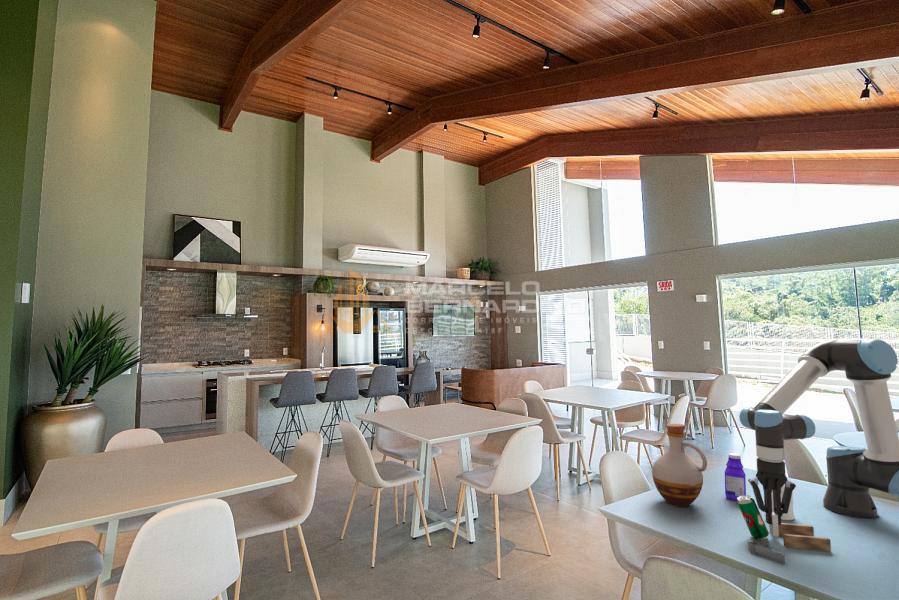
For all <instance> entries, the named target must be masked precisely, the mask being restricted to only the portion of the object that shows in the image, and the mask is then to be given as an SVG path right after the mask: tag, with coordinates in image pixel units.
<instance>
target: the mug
mask: <svg viewBox="0 0 899 600" xmlns="http://www.w3.org/2000/svg"><path fill="white" fill-rule="evenodd" d="M784 488H785V484H784V485H783V487H782V488H781V501H782V497H783V492H784ZM793 495H794V494H793V493H792V496H791V500H790V505H789V509H788V513H787V514H785V513H784V514H783V515H782V516H781V521H793V520H795V513H794V498H793ZM771 496H772V512H774V506H773V490H772V493H771ZM774 513H775V512H774Z"/></svg>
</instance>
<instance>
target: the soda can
mask: <svg viewBox="0 0 899 600" xmlns="http://www.w3.org/2000/svg"><path fill="white" fill-rule="evenodd" d="M736 501H737V502H736V504H737V506H738V508H739V510H740V512H741V513H740V514H741V515H742V518H743V520H744V521H745V525H746V526H747V529H748V531H749V533H750V535H751V537H752V538H754V539H756V540H757V539H759V538H761V537H767V538H768V537H769V535H770V531H769V530H768V527H767V526H766V523H765V521H764V519H763V517H762V514H761V512H760V509H759V508H758V505H757V502H756V500H755V499H754V498H753V497H752V496H751V495H747V494H746V495H745V496H740V497H738V498H737V500H736Z"/></svg>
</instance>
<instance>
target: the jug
mask: <svg viewBox="0 0 899 600" xmlns="http://www.w3.org/2000/svg"><path fill="white" fill-rule="evenodd" d="M665 427H666V429H667V431H666V435H667V437H668V441H669V442H668V443H669V444H668V445H669V448H668V450H666V451H665V452H664V453H663V454H662V455H661V456H659V457H658V458H657V459H656V460H654V463H653V464H652V467H651V475H652V480H653V483H654V486H655V487H656V490H657V492H658V493H659V495H660V496H661V498H663V499H664V501H665V502H666V503H667V504H668V505H670V506H673V507H678V508H688V507H690V506H691V505H692V504H693V503H694V502H695V501H696V500H697V498H699V496H700V493H701V491H702V488H703V485H704V475H703V472H704V471H706V470H707V466H708V460H707V457H706V455H705V453H704V452H703V451H702V450H701V449H700V448H699V447H698V446H697V445H695V444H694V443H691V442H684V437H685V436H686V433H685V431H684V430H685V428H686V425H685V424H683V423H682V424H681V423H667V424H665ZM686 447H688V448H691V449H693V450H695V451H696V452H697V453H698V454H699V456H700V457H701V460H702V465H701V467H700V466H699V464H697V463H696V462H695V461H694V459H692V458H691V457H690V456H689V455H688V454H687V452H685V448H686Z"/></svg>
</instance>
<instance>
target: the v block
mask: <svg viewBox="0 0 899 600" xmlns="http://www.w3.org/2000/svg"><path fill="white" fill-rule="evenodd" d="M747 547H748V549H747V550H748V551H749V552H750V554H753V555H754V554H756V555H759V556H761V557H763V558H767V559H769V560H772V561H774V562H777V563H779V564H782V563H783V564H782V565H784V564H786V555H785V553H784V552H781V551H778V550H775V549H772V548H770V547H769V538H768V536H767V537H761V538H759V539H756V540H753V541H747Z"/></svg>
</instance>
